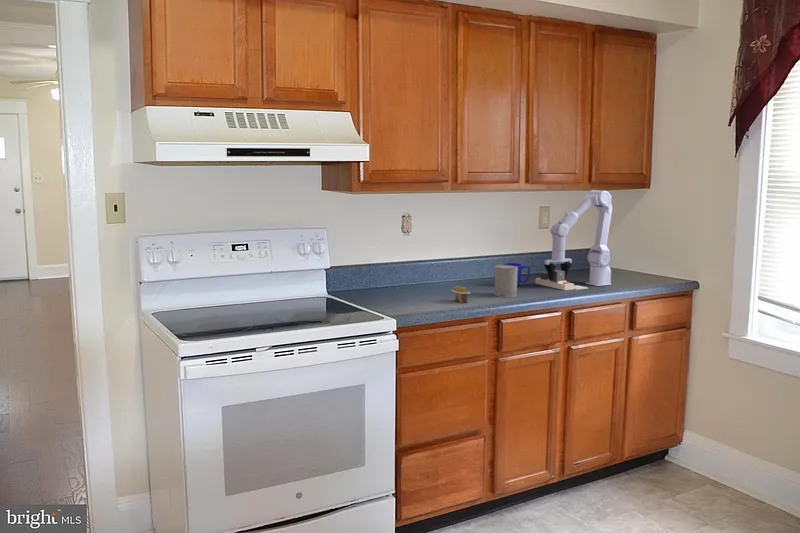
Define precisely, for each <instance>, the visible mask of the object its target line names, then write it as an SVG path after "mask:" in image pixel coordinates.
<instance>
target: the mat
mask: <svg viewBox="0 0 800 533" xmlns="http://www.w3.org/2000/svg"><path fill="white" fill-rule="evenodd" d="M587 289H589V287H587V286H582V285H574V289H573V290H576V291H577V290H578V291H579V290H587Z"/></svg>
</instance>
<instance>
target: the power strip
mask: <svg viewBox="0 0 800 533" xmlns="http://www.w3.org/2000/svg"><path fill="white" fill-rule="evenodd" d="M539 275H540V277H536V278H535V284H536V285H541V286H544V287H548V288H553V289H557V290H562V291H570V290H575V289H574V286H575V283H571V282H570V281H567V280H566V279H565V281H557V283H556V282H552V281H550V280H549V277H548V273H547V271H541V272H540V274H539Z"/></svg>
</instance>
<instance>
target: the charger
mask: <svg viewBox="0 0 800 533" xmlns="http://www.w3.org/2000/svg"><path fill="white" fill-rule="evenodd" d="M565 280H566V279H565V271H562V270H561V269H555V270H554V278H553V280H550V281H552V282H556V283H557V281H565Z"/></svg>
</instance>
